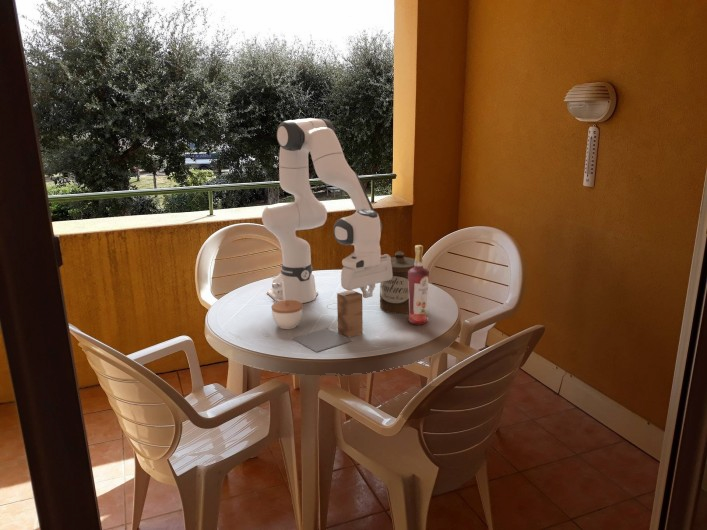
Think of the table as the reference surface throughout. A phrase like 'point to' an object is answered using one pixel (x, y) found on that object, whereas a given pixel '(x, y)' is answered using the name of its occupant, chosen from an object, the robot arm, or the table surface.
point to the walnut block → (349, 313)
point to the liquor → (418, 289)
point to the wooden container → (397, 286)
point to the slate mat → (321, 340)
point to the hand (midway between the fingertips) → (367, 297)
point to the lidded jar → (287, 313)
